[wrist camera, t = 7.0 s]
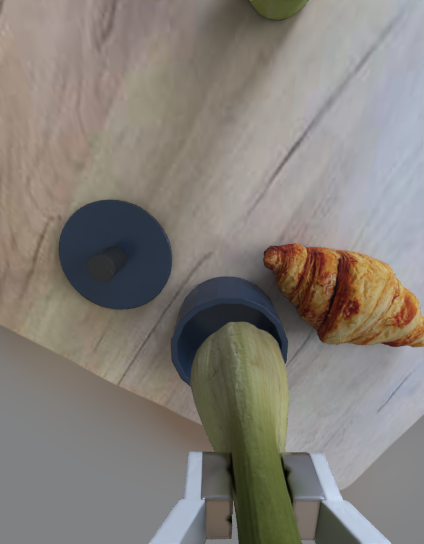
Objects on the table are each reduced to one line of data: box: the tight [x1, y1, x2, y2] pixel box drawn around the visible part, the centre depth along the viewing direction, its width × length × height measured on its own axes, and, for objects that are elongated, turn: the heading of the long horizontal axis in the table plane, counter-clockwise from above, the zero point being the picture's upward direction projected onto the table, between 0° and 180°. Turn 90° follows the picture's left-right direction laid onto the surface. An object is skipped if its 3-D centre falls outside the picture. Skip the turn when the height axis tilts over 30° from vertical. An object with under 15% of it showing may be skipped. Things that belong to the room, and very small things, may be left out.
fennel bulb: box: [190, 322, 302, 544], centre depth 11 cm, size 6×5×12 cm
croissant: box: [263, 244, 424, 347], centre depth 30 cm, size 21×10×8 cm, turn 63°
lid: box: [59, 200, 172, 309], centre depth 29 cm, size 12×12×5 cm
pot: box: [171, 277, 288, 387], centre depth 31 cm, size 11×11×6 cm
